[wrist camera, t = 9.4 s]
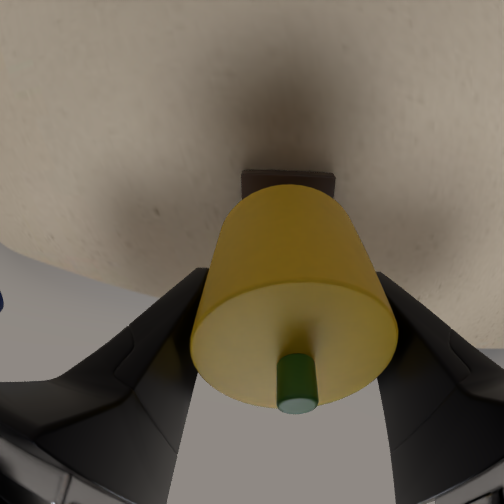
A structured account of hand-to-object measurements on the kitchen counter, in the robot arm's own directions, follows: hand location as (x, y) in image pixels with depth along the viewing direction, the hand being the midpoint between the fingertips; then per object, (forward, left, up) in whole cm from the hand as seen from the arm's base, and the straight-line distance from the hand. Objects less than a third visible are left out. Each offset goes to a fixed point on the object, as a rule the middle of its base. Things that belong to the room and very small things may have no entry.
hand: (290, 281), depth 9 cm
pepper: (0, 0, -2) cm, 2 cm away
